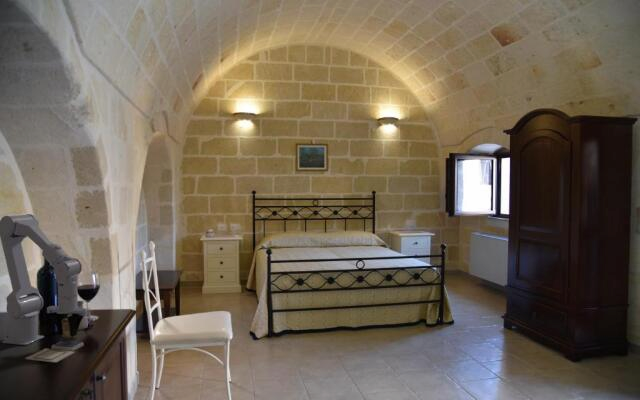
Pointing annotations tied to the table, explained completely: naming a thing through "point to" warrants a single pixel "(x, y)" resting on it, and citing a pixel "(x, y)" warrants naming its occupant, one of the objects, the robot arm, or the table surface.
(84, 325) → the flask
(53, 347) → the ink pad
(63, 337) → the stamp
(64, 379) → the table surface
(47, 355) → the paper sheet
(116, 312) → the table surface
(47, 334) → the table surface
